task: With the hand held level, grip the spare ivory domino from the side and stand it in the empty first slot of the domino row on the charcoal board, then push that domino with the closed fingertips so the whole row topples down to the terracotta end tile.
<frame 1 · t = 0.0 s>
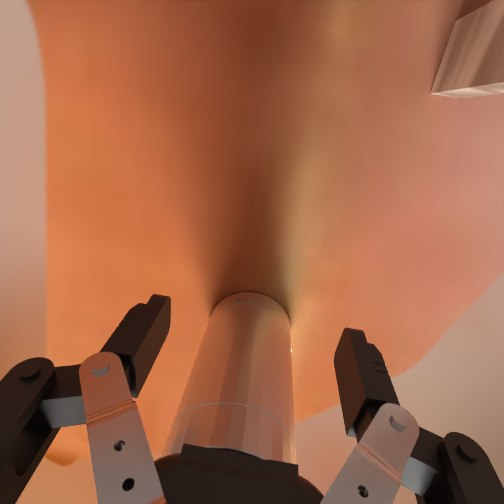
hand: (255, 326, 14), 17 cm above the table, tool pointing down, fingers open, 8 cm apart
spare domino: (457, 61, 23), on the table
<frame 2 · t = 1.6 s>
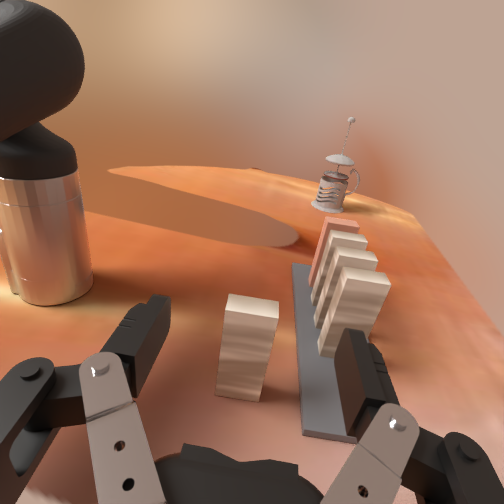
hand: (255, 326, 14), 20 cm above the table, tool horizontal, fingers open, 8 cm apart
french press: (330, 208, 92), on the table
domino board: (329, 330, 44), on the table
domino 4: (326, 303, 48), point 1 cm above the table, touching domino board
domino 3: (331, 325, 44), point 1 cm above the table, touching domino board
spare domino: (237, 388, 34), on the table
end domino: (322, 285, 53), point 1 cm above the table, touching domino board
domino 2: (336, 351, 40), point 1 cm above the table, touching domino board
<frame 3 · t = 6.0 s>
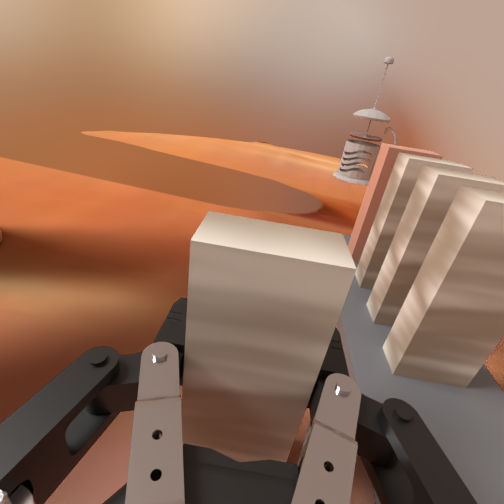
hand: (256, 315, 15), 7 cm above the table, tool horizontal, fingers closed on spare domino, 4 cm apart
french press: (356, 180, 73), on the table
domino board: (393, 327, 26), on the table
domino 4: (381, 284, 30), point 1 cm above the table, touching domino board
domino 3: (398, 318, 25), point 1 cm above the table, touching domino board
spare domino: (232, 448, 15), on the table, touching gripper
end domino: (369, 259, 34), point 1 cm above the table, touching domino board
domino 2: (422, 366, 21), point 1 cm above the table, touching domino board
when the fingers open (9 cm above the table, at t = 12.0 s): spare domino drops 1 cm, resting on domino board.
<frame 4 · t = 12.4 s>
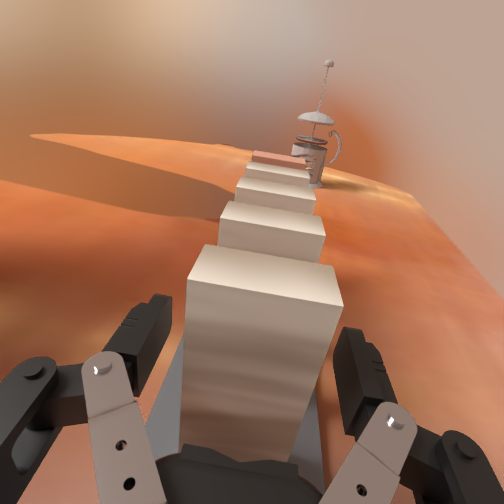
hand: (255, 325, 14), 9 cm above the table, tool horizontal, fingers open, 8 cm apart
french press: (305, 183, 73), on the table
domino board: (248, 339, 25), on the table
domino 4: (255, 294, 29), point 1 cm above the table, touching domino board
domino 3: (249, 330, 25), point 1 cm above the table, touching domino board
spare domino: (229, 463, 16), point 1 cm above the table, touching domino board
end domino: (259, 267, 34), point 1 cm above the table, touching domino board
domino 2: (242, 382, 20), point 1 cm above the table, touching domino board
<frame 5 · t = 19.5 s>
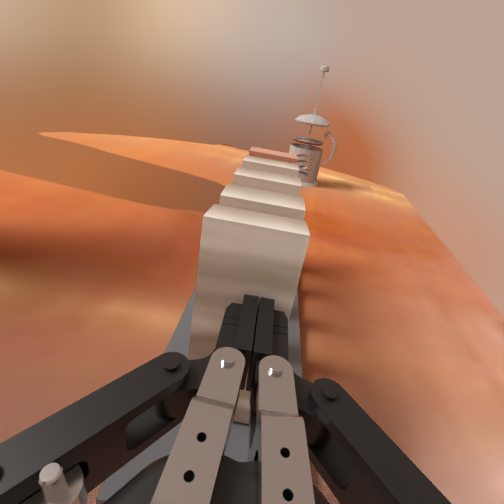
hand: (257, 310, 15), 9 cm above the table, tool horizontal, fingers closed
french press: (302, 182, 76), on the table
domino board: (243, 313, 28), on the table
domino 4: (250, 276, 32), point 1 cm above the table, touching domino board
domino 3: (245, 305, 28), point 1 cm above the table, touching domino board
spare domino: (225, 402, 19), point 1 cm above the table, tilted 6°, touching domino board
end domino: (255, 254, 37), point 1 cm above the table, touching domino board
domino 2: (237, 344, 24), point 1 cm above the table, touching domino board
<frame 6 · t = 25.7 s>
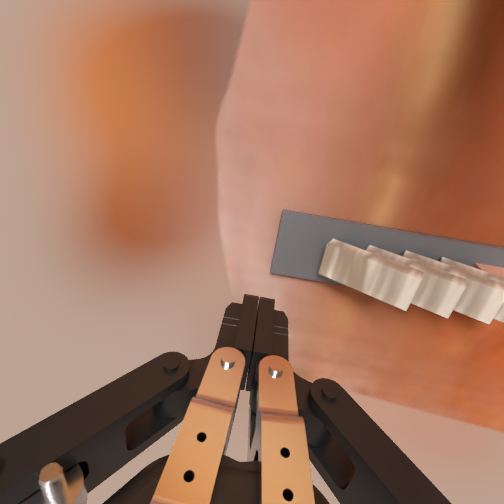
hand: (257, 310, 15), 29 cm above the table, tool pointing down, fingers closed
domino board: (383, 259, 45), on the table
domino 4: (434, 274, 43), point 2 cm above the table, tilted 62°, touching domino 3, domino board, end domino
domino 3: (398, 267, 43), point 2 cm above the table, tilted 62°, touching domino 2, domino 4, domino board
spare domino: (325, 256, 43), point 2 cm above the table, tilted 62°, touching domino 2, domino board
end domino: (470, 281, 43), point 2 cm above the table, tilted 90°, touching domino 4, domino board
domino 2: (362, 262, 43), point 2 cm above the table, tilted 62°, touching domino 3, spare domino
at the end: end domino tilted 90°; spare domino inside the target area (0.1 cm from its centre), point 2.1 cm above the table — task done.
